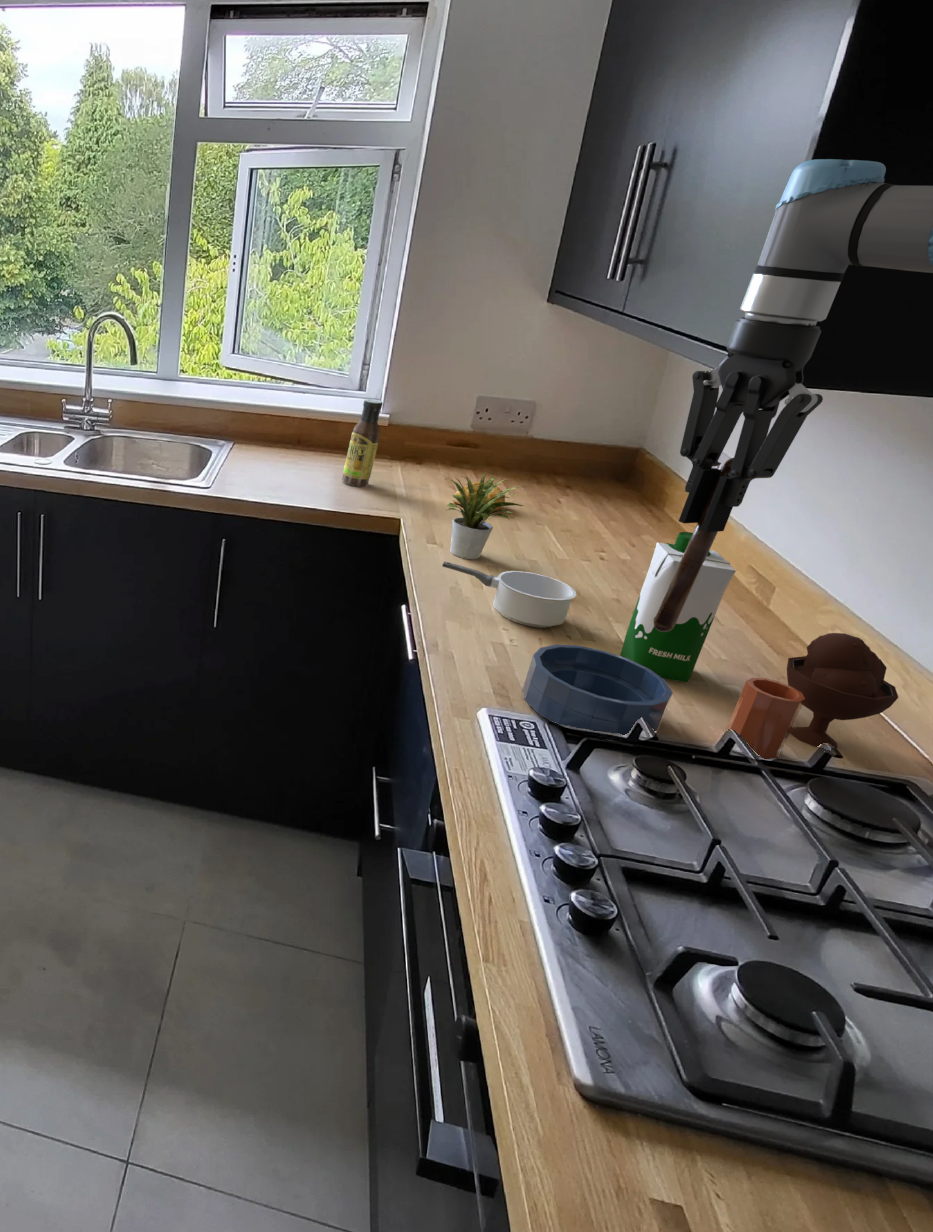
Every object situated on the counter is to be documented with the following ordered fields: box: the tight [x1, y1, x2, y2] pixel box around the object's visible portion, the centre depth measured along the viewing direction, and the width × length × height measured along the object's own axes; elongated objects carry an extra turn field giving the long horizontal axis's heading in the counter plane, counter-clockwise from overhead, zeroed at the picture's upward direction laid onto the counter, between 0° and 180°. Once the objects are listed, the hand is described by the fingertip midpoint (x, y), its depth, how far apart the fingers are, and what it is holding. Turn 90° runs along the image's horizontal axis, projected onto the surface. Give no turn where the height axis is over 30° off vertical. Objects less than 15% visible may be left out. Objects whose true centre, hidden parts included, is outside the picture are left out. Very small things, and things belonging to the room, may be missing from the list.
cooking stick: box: [653, 457, 734, 632], centre depth 106 cm, size 2×2×22 cm
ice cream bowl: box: [786, 632, 899, 750], centre depth 111 cm, size 11×11×15 cm
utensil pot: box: [724, 677, 805, 759], centre depth 108 cm, size 6×6×9 cm
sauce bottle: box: [341, 398, 383, 488], centre depth 206 cm, size 6×6×20 cm
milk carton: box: [620, 531, 737, 684], centre depth 126 cm, size 9×9×20 cm
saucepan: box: [442, 561, 577, 629], centre depth 145 cm, size 12×20×6 cm, turn 58°
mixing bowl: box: [522, 644, 674, 735], centre depth 115 cm, size 16×16×6 cm
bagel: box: [451, 481, 506, 512], centre depth 200 cm, size 10×11×5 cm
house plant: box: [445, 470, 524, 560], centre depth 166 cm, size 14×14×16 cm
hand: (700, 525), depth 104 cm, fingers closed on cooking stick, 2 cm apart
